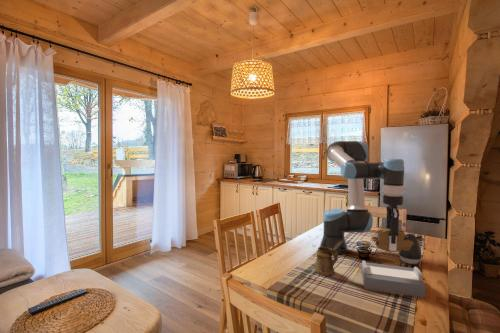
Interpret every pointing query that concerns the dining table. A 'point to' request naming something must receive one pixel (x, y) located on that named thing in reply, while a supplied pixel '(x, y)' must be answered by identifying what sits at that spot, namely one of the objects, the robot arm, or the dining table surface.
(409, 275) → the open storage tray
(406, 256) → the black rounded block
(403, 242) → the wooden carving
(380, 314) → the dining table surface
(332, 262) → the wooden mug
